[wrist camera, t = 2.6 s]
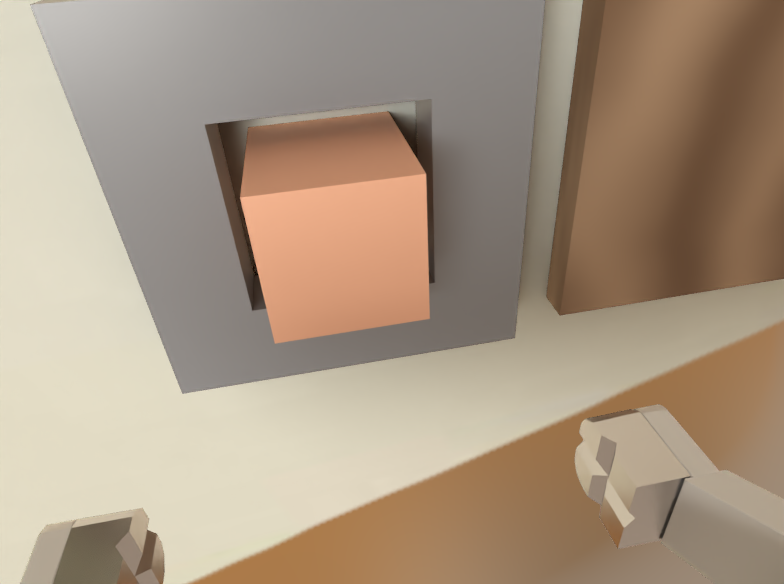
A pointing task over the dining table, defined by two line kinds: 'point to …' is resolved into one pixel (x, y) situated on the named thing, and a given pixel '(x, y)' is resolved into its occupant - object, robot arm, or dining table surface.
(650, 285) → the walnut board
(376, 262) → the terracotta block
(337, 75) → the pocket plate
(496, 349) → the dining table surface
